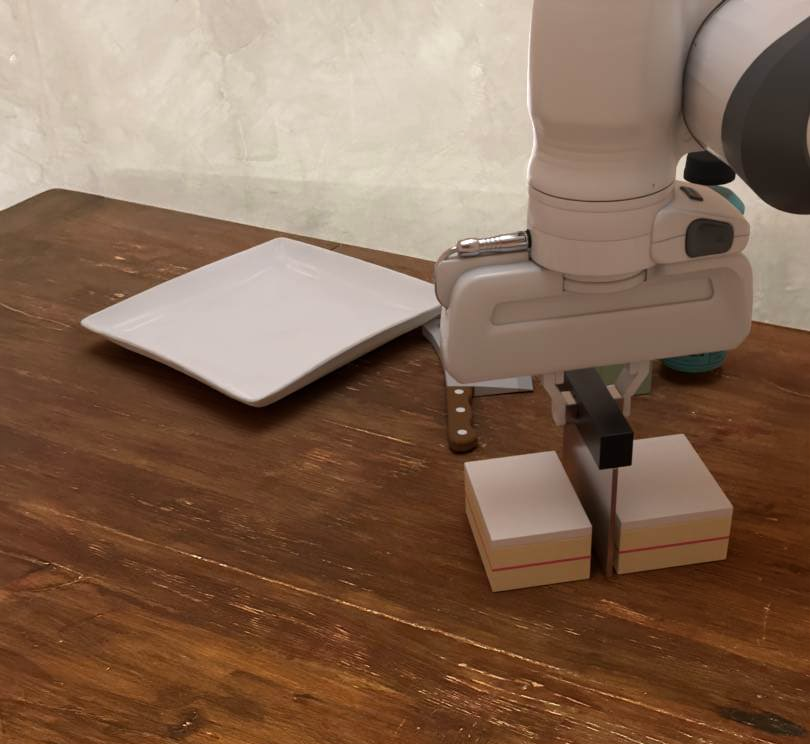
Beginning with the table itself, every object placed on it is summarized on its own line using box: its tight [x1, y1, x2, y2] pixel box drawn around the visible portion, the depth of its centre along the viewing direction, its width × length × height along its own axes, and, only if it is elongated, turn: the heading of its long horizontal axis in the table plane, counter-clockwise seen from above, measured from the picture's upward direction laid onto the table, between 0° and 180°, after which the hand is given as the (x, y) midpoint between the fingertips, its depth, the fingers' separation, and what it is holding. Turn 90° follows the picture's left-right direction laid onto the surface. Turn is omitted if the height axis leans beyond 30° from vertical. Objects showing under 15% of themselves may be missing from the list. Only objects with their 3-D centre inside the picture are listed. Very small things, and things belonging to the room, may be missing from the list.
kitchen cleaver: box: [421, 318, 534, 452], centre depth 103 cm, size 24×1×10 cm
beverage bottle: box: [658, 150, 746, 373], centre depth 96 cm, size 6×7×20 cm
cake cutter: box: [556, 367, 635, 578], centre depth 80 cm, size 2×12×12 cm, turn 8°
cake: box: [613, 433, 734, 575], centre depth 83 cm, size 8×10×5 cm
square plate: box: [80, 236, 442, 408], centre depth 112 cm, size 27×27×4 cm
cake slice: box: [463, 450, 592, 593], centre depth 82 cm, size 7×10×5 cm
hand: (590, 417), depth 77 cm, fingers closed on cake cutter, 2 cm apart
